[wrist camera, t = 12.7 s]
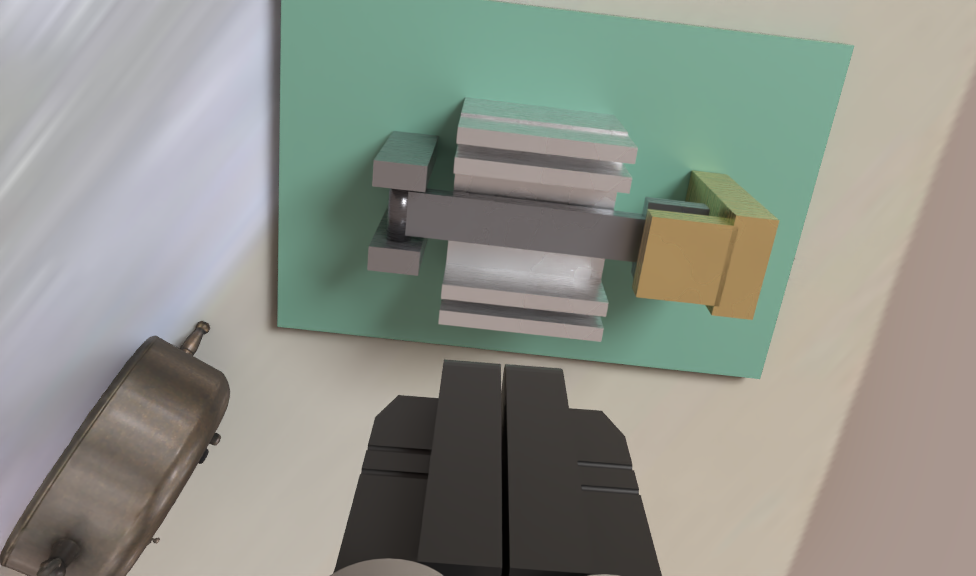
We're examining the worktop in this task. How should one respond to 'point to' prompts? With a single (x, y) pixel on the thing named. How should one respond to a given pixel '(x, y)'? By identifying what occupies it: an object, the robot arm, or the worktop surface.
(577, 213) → the strap
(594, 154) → the heat sink
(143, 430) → the alarm clock
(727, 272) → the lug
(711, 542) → the worktop surface
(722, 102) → the pcb board
